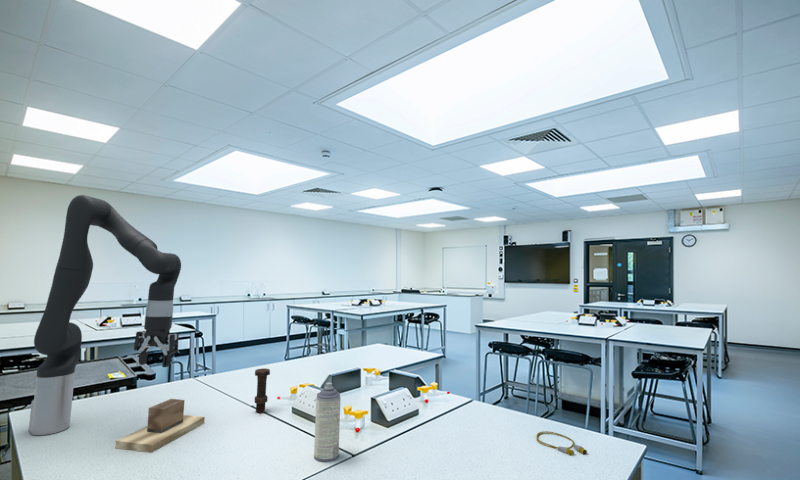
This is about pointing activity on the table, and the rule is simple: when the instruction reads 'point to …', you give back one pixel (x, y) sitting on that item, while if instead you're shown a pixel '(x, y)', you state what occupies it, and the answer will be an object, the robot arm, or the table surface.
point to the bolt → (261, 389)
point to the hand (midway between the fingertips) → (154, 365)
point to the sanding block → (165, 415)
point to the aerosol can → (327, 424)
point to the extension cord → (563, 449)
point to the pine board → (158, 436)
